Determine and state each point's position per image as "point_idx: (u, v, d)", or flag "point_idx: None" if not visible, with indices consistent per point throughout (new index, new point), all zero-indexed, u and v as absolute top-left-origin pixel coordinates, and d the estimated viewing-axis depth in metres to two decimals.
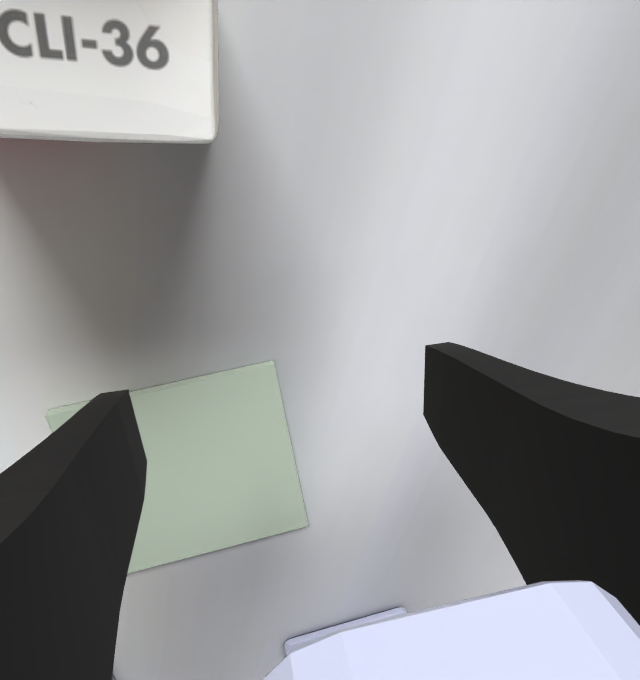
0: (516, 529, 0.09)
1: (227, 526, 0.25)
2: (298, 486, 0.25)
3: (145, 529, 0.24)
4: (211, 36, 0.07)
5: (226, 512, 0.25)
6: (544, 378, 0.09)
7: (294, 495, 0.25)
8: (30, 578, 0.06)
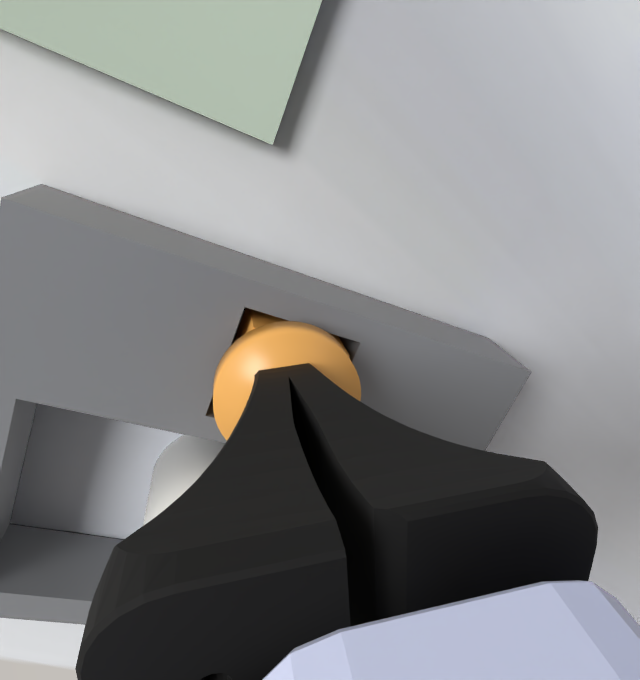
0: None
1: None
2: None
3: (195, 7, 0.11)
4: None
5: None
6: (361, 408, 0.08)
7: None
8: None
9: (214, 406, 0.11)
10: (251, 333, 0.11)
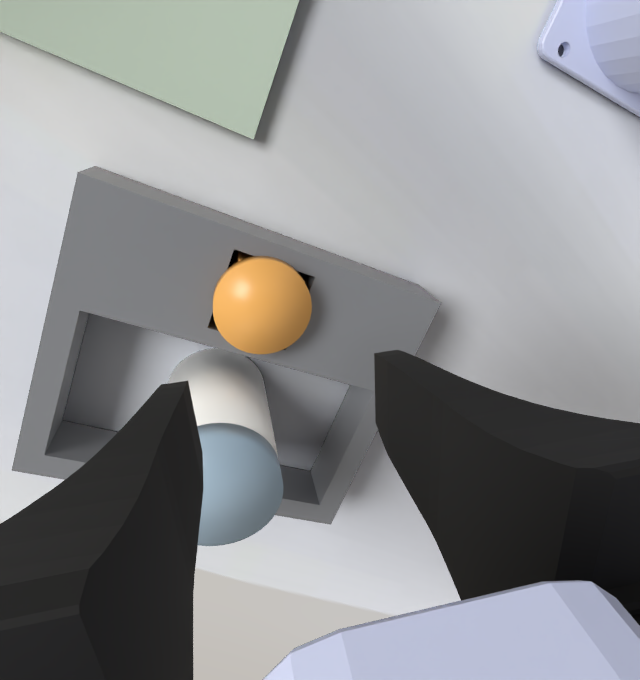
0: (451, 543, 0.09)
1: None
2: None
3: (201, 48, 0.16)
4: None
5: None
6: (478, 389, 0.09)
7: None
8: (143, 556, 0.06)
9: (213, 310, 0.17)
10: (238, 262, 0.17)
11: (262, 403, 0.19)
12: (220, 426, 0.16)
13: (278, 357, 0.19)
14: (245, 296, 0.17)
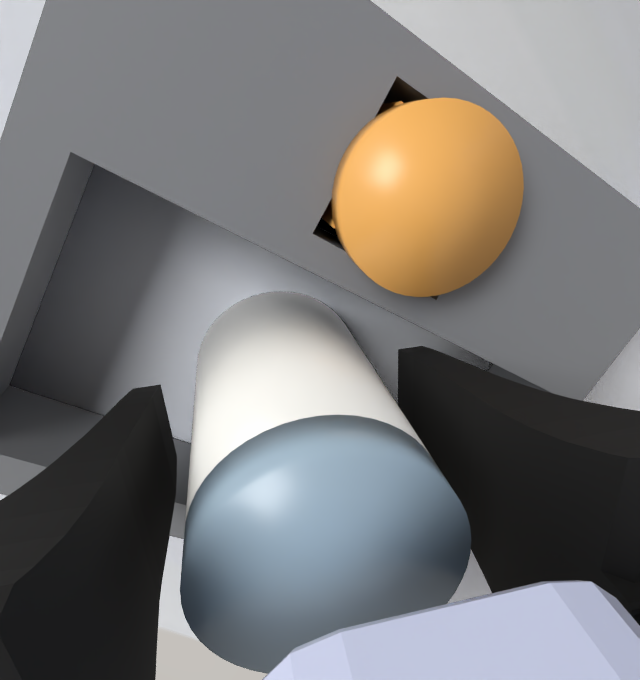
0: (482, 536, 0.09)
1: None
2: None
3: None
4: None
5: None
6: (509, 384, 0.09)
7: None
8: (91, 566, 0.06)
9: (344, 190, 0.09)
10: (401, 104, 0.09)
11: None
12: (359, 423, 0.07)
13: (420, 311, 0.11)
14: (410, 170, 0.09)
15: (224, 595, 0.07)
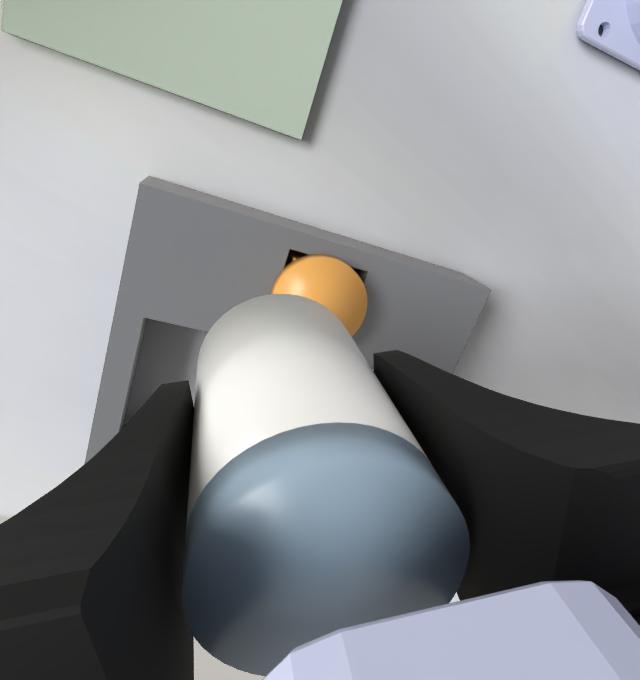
0: None
1: None
2: None
3: (249, 53, 0.17)
4: None
5: None
6: (477, 389, 0.09)
7: None
8: (144, 556, 0.06)
9: None
10: (294, 262, 0.18)
11: None
12: (357, 431, 0.07)
13: None
14: (303, 294, 0.18)
15: (225, 601, 0.07)
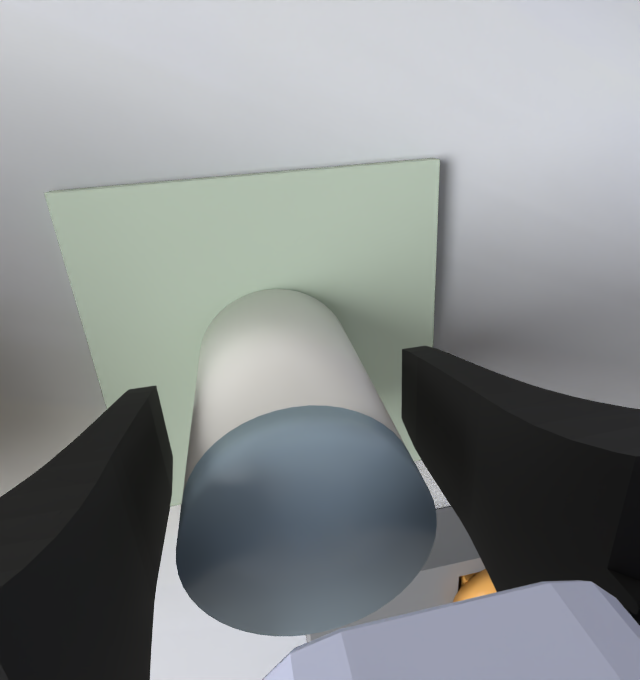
0: (486, 535, 0.09)
1: (390, 307, 0.15)
2: (337, 171, 0.13)
3: None
4: None
5: (360, 306, 0.14)
6: (514, 383, 0.09)
7: (357, 181, 0.13)
8: (83, 567, 0.06)
9: None
10: (467, 587, 0.17)
11: (369, 378, 0.11)
12: (327, 412, 0.08)
13: None
14: None
15: (215, 566, 0.08)
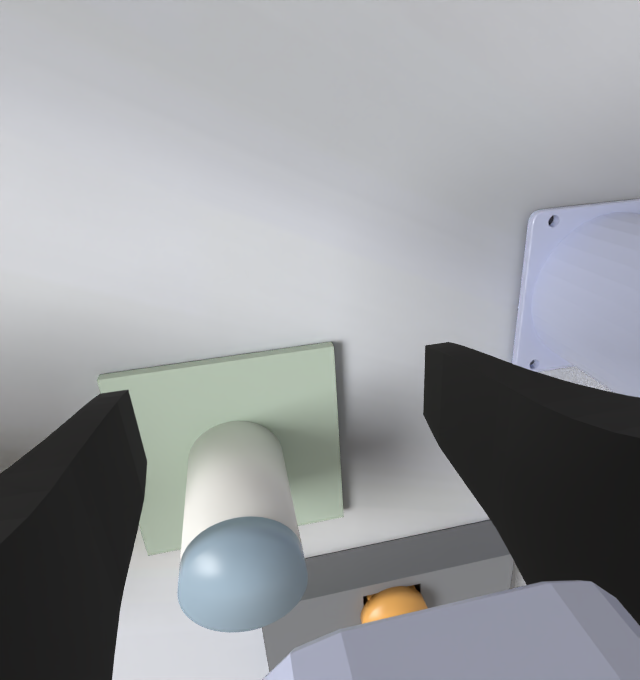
0: (516, 529, 0.09)
1: (309, 428, 0.23)
2: (270, 357, 0.21)
3: None
4: None
5: (289, 428, 0.23)
6: (544, 378, 0.09)
7: (282, 361, 0.21)
8: (30, 578, 0.06)
9: None
10: (369, 603, 0.25)
11: (285, 484, 0.20)
12: (250, 521, 0.16)
13: None
14: None
15: (197, 597, 0.16)
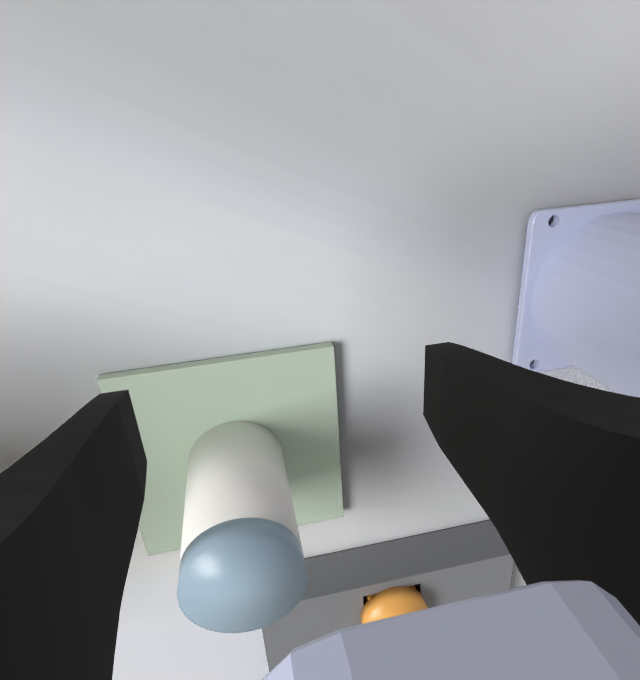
0: (516, 529, 0.09)
1: (309, 428, 0.23)
2: (270, 357, 0.21)
3: (291, 495, 0.24)
4: None
5: (289, 428, 0.23)
6: (544, 378, 0.09)
7: (282, 361, 0.21)
8: (30, 578, 0.06)
9: None
10: (369, 603, 0.25)
11: (285, 485, 0.20)
12: (250, 522, 0.16)
13: None
14: None
15: (196, 598, 0.16)
